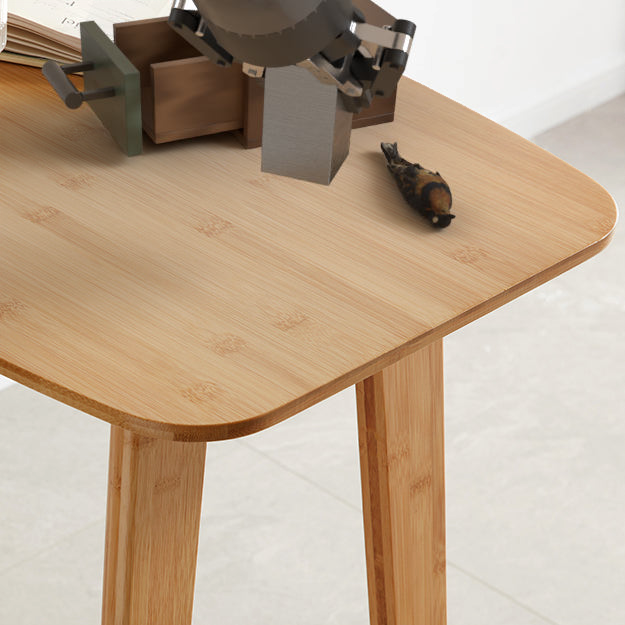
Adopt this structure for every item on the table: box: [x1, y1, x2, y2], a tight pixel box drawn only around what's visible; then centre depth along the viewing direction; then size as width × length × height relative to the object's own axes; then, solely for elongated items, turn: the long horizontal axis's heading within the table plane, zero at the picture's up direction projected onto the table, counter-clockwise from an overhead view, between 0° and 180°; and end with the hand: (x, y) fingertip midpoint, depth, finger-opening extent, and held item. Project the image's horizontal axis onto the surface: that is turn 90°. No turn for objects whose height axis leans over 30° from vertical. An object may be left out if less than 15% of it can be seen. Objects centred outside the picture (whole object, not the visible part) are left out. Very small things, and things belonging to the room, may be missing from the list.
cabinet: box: [229, 0, 399, 150], centre depth 94 cm, size 14×12×9 cm
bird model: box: [379, 141, 456, 229], centre depth 85 cm, size 3×14×3 cm, turn 14°
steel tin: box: [260, 64, 353, 187], centre depth 68 cm, size 4×4×8 cm
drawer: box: [41, 15, 245, 158], centre depth 89 cm, size 16×10×7 cm, turn 117°
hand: (318, 90), depth 70 cm, fingers closed on steel tin, 4 cm apart
